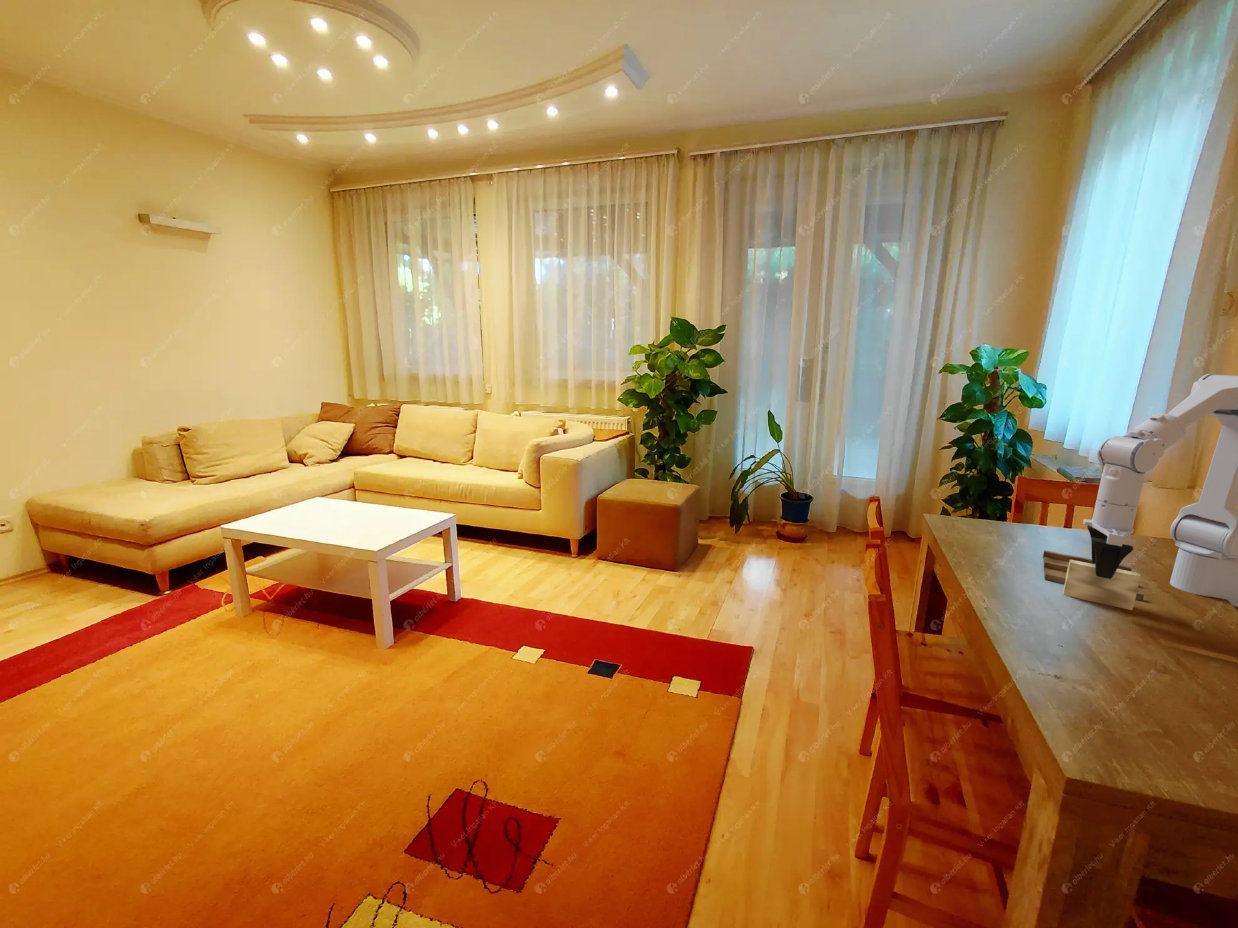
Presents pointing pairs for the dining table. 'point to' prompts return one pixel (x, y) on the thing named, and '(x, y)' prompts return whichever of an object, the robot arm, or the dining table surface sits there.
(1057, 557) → the walnut rack
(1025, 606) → the dining table surface
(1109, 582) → the birch panel
